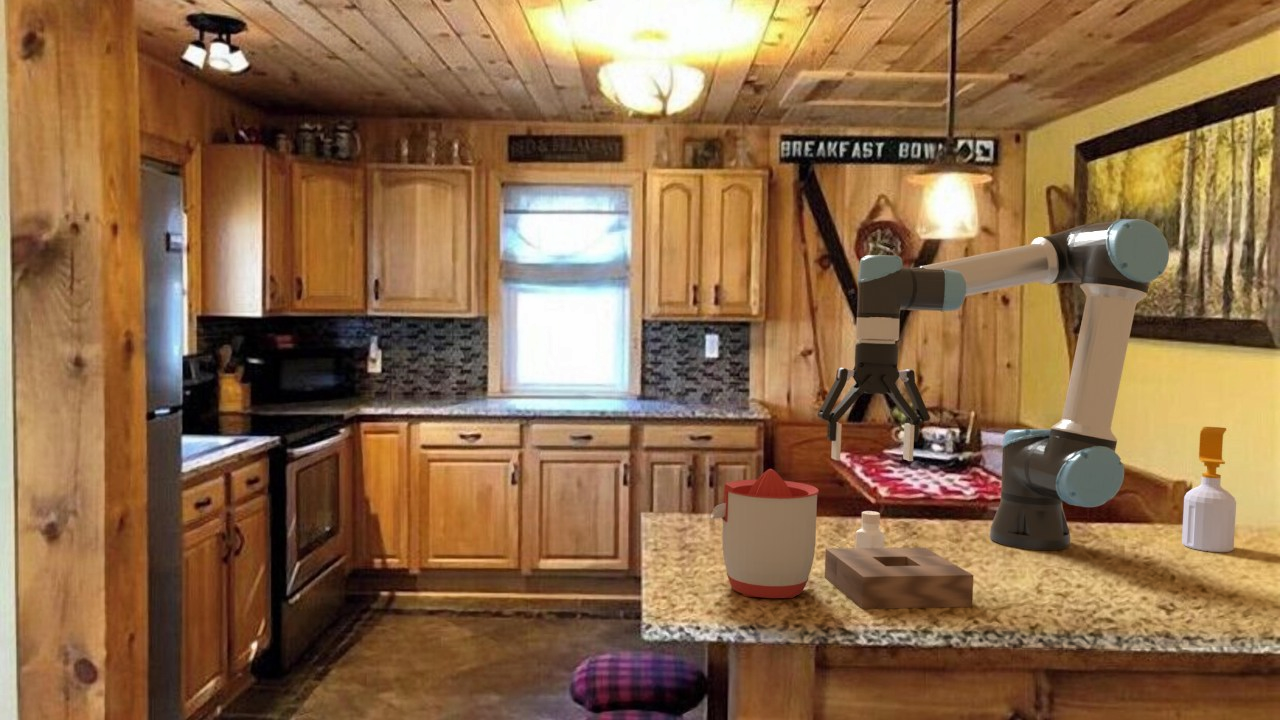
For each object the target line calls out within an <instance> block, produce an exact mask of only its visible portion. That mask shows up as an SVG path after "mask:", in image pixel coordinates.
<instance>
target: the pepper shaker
mask: <svg viewBox="0 0 1280 720" xmlns="http://www.w3.org/2000/svg"><path fill="white" fill-rule="evenodd" d="M880 524H881V513H880V512H878V511H872V510H865V511H861V528H860V529H857V530H856V532H855V547H854V548H885V532H884V531H882V530H881V529H880Z"/></svg>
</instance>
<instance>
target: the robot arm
mask: <svg viewBox="0 0 1280 720" xmlns="http://www.w3.org/2000/svg"><path fill="white" fill-rule="evenodd" d="M1169 257H1170V249H1169V245H1168V241H1167V238H1166V237H1165V236H1164V235H1163V233H1162V231H1161V230H1160V228H1159V227H1158V226H1156V225H1155V224H1154V223H1153V222H1150V221H1148V220H1145V219H1140V218H1139V219H1138V218H1134V219H1133V218H1131V219H1130V218H1121V219H1117V220H1114V221H1113V220H1111V221H1105V222H1096V223H1095V222H1094V223H1088V224H1082V225H1079V226H1074V227H1072V228H1070V229H1066V230H1063V231H1060V232H1056V233H1053V234H1049V235H1045V236H1041V237H1040V236H1039V237H1036V238H1034V239H1033V240H1032V241H1031V242H1030V244H1026V245H1020V246H1017V247H1016V246H1015V247H1011V248H1006V249H1001V250H996V251H990V252H986V253H981V254H975V255H972V256H971V255H970V256H966V257H961V258H956V259H951V260H946V261H941V262H937V263H930V264H927V265H926V264H925V265H919V266H917V267H912V268H909V267H904V265H903V259H902V257H901V256H899V255H889V254H888V255H887V254H885V255H883V254H882V255H879V254H876V255H875V254H873V255H872V254H871V255H865V256H863V257H862V258H860V261H859V267H858V277H857V280H856V282H857V306H856V309H857V311H856V327H855V328H856V329H855V338H856V340H858V342H856V344H855V347H854V348H855V350H854V367H853V369H847V368H846V367H838V368H837V370H836V375H835V380H834V382H833V384H832V385H831V387H830V390H829V391H828V393H827V395H826V397H825V399H824V401H823V403H822V405H821V406H820V408H819V410H818V413H817V414H816V415H817V417H818V418H819V419H821V420H824V421H826V422H827V429H826V430H827V432H826V438H827V441H830V442H831V454H830V458H831V459H832V460H834V461H841V448H842V447H841V446H842V425H843V423H840V422H839V421H840V420H841V418H842V417H843V416H844V415H845V414H846V412H847V411H849V409H850V408H851V407H852V405H853V404H854V403H855V402H856V401H857V400H858V399H859V398H860V397H861V396H862V395H864V393H865V394H868V395H874V394H879V395H886V394H887V395H888V396H889V398H891V400H892V401H893V402H894V403H895V405H896V406H897V407H898V409H899V410H900V411H901V413H902V414H903V415H904V417H905V418H906V419H907V421H908V422H907V423H906V422H905V423H904V427H903V431H904V432H903V446H902V447H903V449H902V450H903V452H902V459H903V460H906V461H908V462H913V461H914V444H915V443H918V442H919V435H920V434H919V433H920V426H921V425H922V424H923V423H924V422H929V421H930V419H931V416H930V414H929V412H928V410H927V407H926V405H925V402H924V399H923V397H922V395H921V392H920V390H919V388H918V385H917V383H916V374H915V370H913V369H907V368H905V369H903V370H898V361H899V345H898V344H897V343H896V342H897V341H898V340H900V318H901V317H900V316H901V311H906V310H907V311H927V312H928V311H929V312H930V311H931V312H933V311H934V312H936V311H938V312H952V311H953V312H955V311H957V310H958V309H960V308H961V307H962V306H963V304H964V301H965V299H966V297H969V296H975V295H979V294H983V293H984V294H985V293H988V292H989V293H990V292H994V291H999V290H1004V289H1008V288H1014V287H1018V286H1019V287H1020V286H1024V285H1028V284H1029V285H1030V284H1034V283H1039V284H1040V285H1043V286H1049V285H1053V284H1064V283H1080V285H1079V287H1080V289H1081V290H1082V291H1083V293H1084V295H1085V296H1086V298H1085V299H1086V300H1085V304H1084V308H1083V314H1082V318H1081V319H1082V320H1081V325H1080V327H1079V332H1078V333H1079V334H1078V338H1077V342H1076V348H1075V353H1074V357H1073V362H1072V366H1071V367H1072V368H1071V372H1070V377H1069V383H1068V388H1067V391H1066V397H1065V400H1064V406H1063V411H1062V416H1061V419H1060V421H1058V422H1057V423H1055V424H1054V425H1052V426H1051V427H1050V428H1049V429H1048V428H1047V429H1044V428H1043V429H1040V428H1039V429H1038V428H1037V429H1036V428H1035V429H1028V428H1027V429H1009V430H1007V431H1006V432H1005V433H1004V435H1003V441H1002V447H1001V451H1002V456H1001V457H1002V459H1001V460H1002V461H1001V463H1002V465H1001V483H1000V484H1001V485H1000V486H1001V487H1000V490H1001V491H1000V502H999V505H998V507H997V509H996V513H995V515H994V517H993V520H992V523H991V526H990V529H989V530H990V531H989V532H990V533H989V538H990V540H991V541H993V542H995V543H997V544H1000V545H1004V546H1007V547H1008V546H1009V547H1014V548H1018V549H1026V550H1035V551H1036V550H1037V551H1054V550H1055V551H1057V550H1065V549H1069V547H1070V546H1071V532H1070V529H1069V526H1068V522H1067V519H1066V516H1065V512H1064V508H1063V502H1065V503H1066V504H1068V505H1071V506H1076V507H1082V508H1095V507H1096V508H1097V507H1100V506H1102V505H1105V503H1107V502H1108V501H1110V500H1112V499H1113V498H1114V497H1115V496H1116V495H1117V494H1118V492H1119V491H1120V489H1121V487H1122V485H1123V482H1124V480H1125V479H1124V477H1125V466H1124V464H1123V462H1122V460H1121V457H1120V456H1119V455H1118V454H1117V453H1116V449H1117V444H1118V439H1117V437H1116V436H1115V434H1114V433H1113V432H1112V429H1111V427H1112V423H1113V419H1114V415H1115V414H1114V413H1115V409H1116V404H1117V399H1118V393H1119V390H1120V384H1121V380H1122V375H1123V369H1124V364H1125V360H1126V356H1127V350H1128V346H1129V345H1128V344H1129V340H1130V335H1131V330H1132V325H1133V321H1134V316H1135V310H1136V307H1137V304H1138V303H1139V302H1141V301H1142V300H1144V299H1145V298H1147V297H1148V292H1149V289H1150V283H1151V282H1153V281H1154V280H1156V279H1158V278H1159V276H1161V275H1162V274H1163V273H1164V272H1165V270H1166V268H1167V266H1168V264H1169V261H1170V258H1169ZM851 378H853V380H854V382H855V383H854V384H853V385H852V387H851V388H850V389H849V392H848V393H847V394H845V395H844V397H843V398H842V399H841V401H839V403H838V404H837V405H836V403H837V401H838V399H840V398H839V397H840V395H841V393H842V392H843V390H844V387H845V386H846V384H847V382H848V381H850V379H851ZM899 378H900V381H901V382H902V383H903V386H904V387H905V390H906V392H907V394H908V397H909V400H910V402H911V403H912V406H913V408H912V407H911V406H910V404H909V403H908V401H906V399H905V398H904V397H903V395H902V394H901V391H900V389H899V388H898V387H897V386H896V384H895V383H897V381H898V380H899ZM835 405H836V406H835ZM834 407H835V408H834ZM913 409H914V410H913Z"/></svg>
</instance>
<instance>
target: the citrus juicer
mask: <svg viewBox="0 0 1280 720" xmlns="http://www.w3.org/2000/svg"><path fill="white" fill-rule="evenodd" d="M723 491H724V493H723V503H721V504H717V505H716V506H714V507H713V510H712V512H711V514H710V519H711V520H714V519H721V520H722V532H721V535H722V537H721V538H722V540H721V542H722V553H723V554H722V555H723V561H724V566H725V569H726V577H727V578H728V581H729V584H730V586H731V588H732V589H733V590H734V591H736V592H737V593H740V594H742V595H743V596H744V597H749V598H753V597H756V598H765V599H780V598H781V599H793V598H795V597H796V596H799V595H801V594H802V593H803V591H804V590H805V588H806V585H807V583H808V582H809V576H810V573H811V570H812V568H813V567H812V566H813V562H814V557H815V553H816V552H815V551H816V541H817V539H816V536H817V506H818V505H817V504H818V503H817V502H818V494H819V493H820V491H819V489H818V488H817V487H816V486H814V485H810V484H806V483H803V482H795V481H789V480H784V479H783V478H782V477H781V476H780V474H778V472H777V471H776V470H774V469H772V468H769V469H766V470H765V472H763V473H762V474H761V475H760V476H759V477H758V479H757V478H756V479H742V480H741V479H739V480H733V481H728V482H726V483H724V490H723Z"/></svg>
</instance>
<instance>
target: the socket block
mask: <svg viewBox="0 0 1280 720" xmlns="http://www.w3.org/2000/svg"><path fill="white" fill-rule="evenodd" d="M824 555H825V557H824V558H825V559H824V560H825V562H824V564H825V565H824V578H825V579H826V580H827V581H828V582H830V583H831V584H832V585H833V586H834V587H835V588H837V589H838V590H839V591H840V592H841V593H843V594H844V595H845V596H846V597H848V599H850V600H851V601H852V602H854V604H856V605H857V606H858V607H860V608H861V609H862V610H863V609H865V610H867V609H869V610H871V609H874V610H875V609H913V608H915V609H919V608H920V609H922V608H925V609H927V608H969V607H970V608H971V607H972V608H973V600H974V599H973V597H974V574H972V573H971V572H969V571H967V570H965V569H963V568H961V566H958V565H957V564H955V563H953V562H951V561H949V560H948V559H946V558H945V557H943V556H942V555H939V554H937V553H936V552H935V551H932V550H930V549H929V548H928V547H884V548H855V547H854V548H853V547H851V548H850V547H847V548H844V547H842V548H840V547H839V548H833V547H832V548H831V547H830V548H825V554H824Z"/></svg>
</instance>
